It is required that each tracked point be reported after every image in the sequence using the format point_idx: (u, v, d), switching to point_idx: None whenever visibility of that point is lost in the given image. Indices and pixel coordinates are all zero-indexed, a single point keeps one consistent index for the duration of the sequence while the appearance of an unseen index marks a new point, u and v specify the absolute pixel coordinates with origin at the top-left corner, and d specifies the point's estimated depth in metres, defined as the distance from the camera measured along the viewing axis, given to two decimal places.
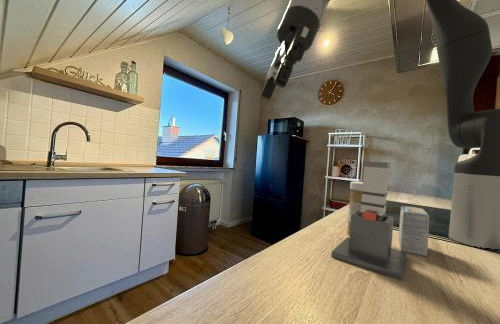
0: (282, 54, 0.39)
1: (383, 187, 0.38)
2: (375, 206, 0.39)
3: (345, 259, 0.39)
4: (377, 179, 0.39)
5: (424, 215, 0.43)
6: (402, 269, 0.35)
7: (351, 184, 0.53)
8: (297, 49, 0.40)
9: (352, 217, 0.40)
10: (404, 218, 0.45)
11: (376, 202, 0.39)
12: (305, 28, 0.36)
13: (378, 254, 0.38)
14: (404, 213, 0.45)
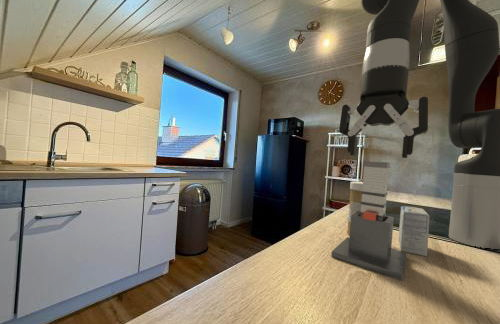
0: (401, 124, 0.37)
1: (383, 187, 0.38)
2: (375, 206, 0.39)
3: (345, 259, 0.39)
4: (377, 179, 0.39)
5: (424, 215, 0.43)
6: (402, 269, 0.35)
7: (351, 184, 0.53)
8: None
9: (352, 217, 0.40)
10: (404, 218, 0.45)
11: (376, 202, 0.39)
12: (427, 101, 0.36)
13: (378, 254, 0.38)
14: (404, 213, 0.45)
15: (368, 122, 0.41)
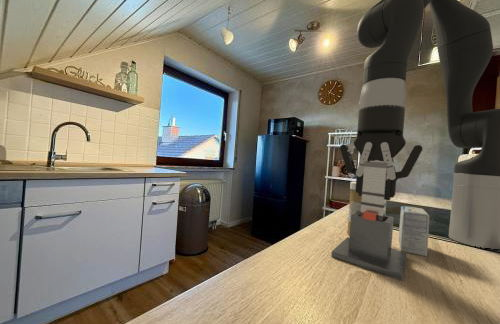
0: (388, 166, 0.38)
1: (383, 187, 0.38)
2: (375, 206, 0.39)
3: (345, 259, 0.39)
4: (377, 179, 0.39)
5: (424, 215, 0.43)
6: (402, 269, 0.35)
7: (351, 184, 0.53)
8: None
9: (352, 217, 0.40)
10: (404, 218, 0.45)
11: (376, 202, 0.39)
12: (421, 150, 0.36)
13: (378, 254, 0.38)
14: (404, 213, 0.45)
15: (371, 158, 0.41)
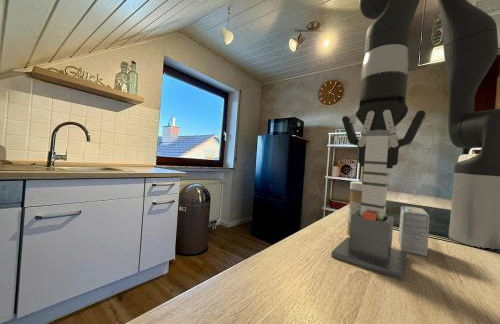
0: (390, 134, 0.38)
1: (386, 155, 0.38)
2: (378, 175, 0.39)
3: (345, 259, 0.39)
4: (379, 148, 0.39)
5: (424, 215, 0.43)
6: (402, 269, 0.35)
7: (351, 184, 0.53)
8: None
9: (352, 217, 0.40)
10: (404, 218, 0.45)
11: (378, 170, 0.39)
12: (424, 116, 0.36)
13: (378, 254, 0.38)
14: (404, 213, 0.45)
15: (373, 127, 0.40)
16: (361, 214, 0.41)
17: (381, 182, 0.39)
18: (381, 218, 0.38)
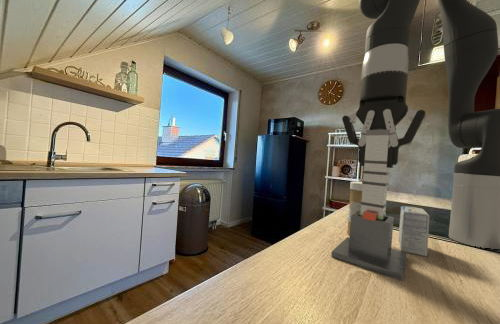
0: (390, 133, 0.38)
1: (386, 154, 0.38)
2: (378, 174, 0.39)
3: (345, 259, 0.39)
4: (379, 147, 0.39)
5: (424, 215, 0.43)
6: (402, 269, 0.35)
7: (351, 184, 0.53)
8: None
9: (352, 217, 0.40)
10: (404, 218, 0.45)
11: (379, 170, 0.39)
12: (424, 115, 0.36)
13: (378, 254, 0.38)
14: (404, 213, 0.45)
15: (373, 127, 0.40)
16: (361, 213, 0.41)
17: (381, 181, 0.39)
18: (381, 217, 0.38)
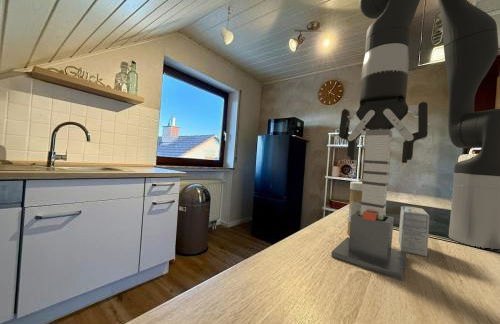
0: (401, 129, 0.37)
1: (386, 154, 0.38)
2: (378, 174, 0.39)
3: (345, 259, 0.39)
4: (379, 147, 0.39)
5: (424, 215, 0.43)
6: (402, 269, 0.35)
7: (351, 184, 0.53)
8: None
9: (352, 217, 0.40)
10: (404, 218, 0.45)
11: (379, 170, 0.39)
12: None
13: (378, 254, 0.38)
14: (404, 213, 0.45)
15: (368, 127, 0.41)
16: (361, 213, 0.41)
17: (381, 181, 0.39)
18: (381, 217, 0.38)
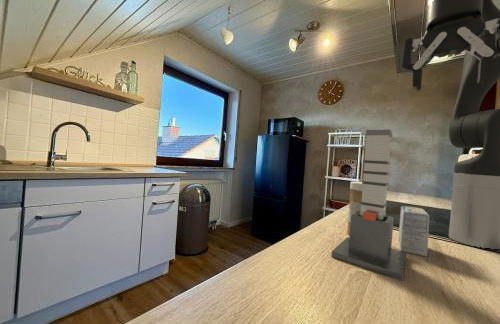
0: (478, 46, 0.36)
1: (386, 154, 0.38)
2: (378, 174, 0.39)
3: (345, 259, 0.39)
4: (379, 147, 0.39)
5: (424, 215, 0.43)
6: (402, 269, 0.35)
7: (351, 184, 0.53)
8: None
9: (352, 217, 0.40)
10: (404, 218, 0.45)
11: (379, 170, 0.39)
12: None
13: (378, 254, 0.38)
14: (404, 213, 0.45)
15: (437, 52, 0.40)
16: (361, 213, 0.41)
17: (381, 181, 0.39)
18: (381, 217, 0.38)
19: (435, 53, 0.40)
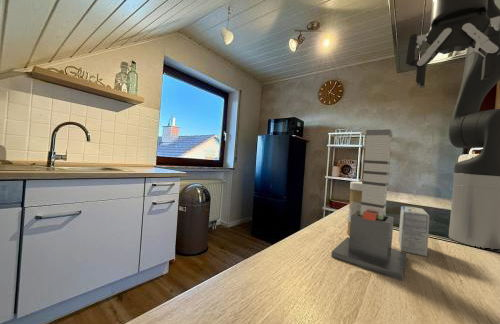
0: (483, 42, 0.36)
1: (386, 154, 0.38)
2: (378, 174, 0.39)
3: (345, 259, 0.39)
4: (379, 147, 0.39)
5: (424, 215, 0.43)
6: (402, 269, 0.35)
7: (351, 184, 0.53)
8: None
9: (352, 217, 0.40)
10: (404, 218, 0.45)
11: (379, 170, 0.39)
12: None
13: (378, 254, 0.38)
14: (404, 213, 0.45)
15: (441, 48, 0.40)
16: (361, 213, 0.41)
17: (381, 181, 0.39)
18: (381, 217, 0.38)
19: (439, 49, 0.40)
